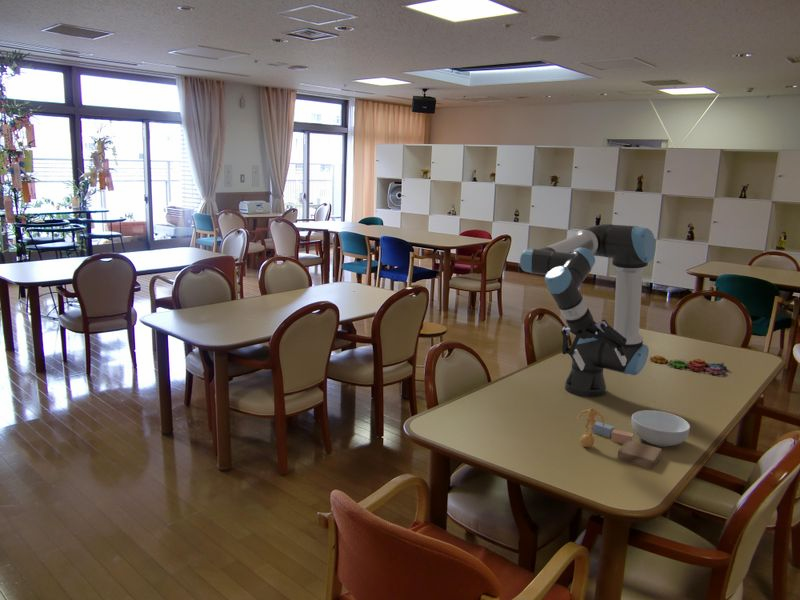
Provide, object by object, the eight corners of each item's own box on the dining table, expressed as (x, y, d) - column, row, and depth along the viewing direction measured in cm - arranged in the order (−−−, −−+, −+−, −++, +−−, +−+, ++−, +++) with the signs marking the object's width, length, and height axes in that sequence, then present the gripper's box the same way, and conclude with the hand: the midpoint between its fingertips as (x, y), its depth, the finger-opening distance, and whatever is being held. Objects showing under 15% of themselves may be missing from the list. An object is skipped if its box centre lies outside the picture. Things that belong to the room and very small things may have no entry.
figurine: (571, 445, 192) (575, 408, 189) (577, 438, 197) (580, 402, 194) (599, 452, 188) (603, 414, 185) (603, 445, 193) (607, 408, 190)
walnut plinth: (617, 460, 184) (618, 451, 183) (626, 449, 192) (627, 439, 191) (652, 470, 178) (654, 460, 178) (660, 458, 186) (661, 448, 186)
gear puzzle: (646, 364, 279) (647, 355, 278) (653, 356, 292) (654, 347, 291) (724, 378, 263) (725, 369, 262) (727, 369, 276) (729, 360, 275)
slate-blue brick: (591, 432, 203) (592, 423, 202) (596, 429, 205) (597, 421, 204) (609, 438, 199) (610, 429, 198) (613, 435, 201) (614, 426, 200)
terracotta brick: (610, 441, 196) (611, 432, 196) (612, 438, 199) (613, 429, 198) (630, 445, 193) (632, 436, 193) (632, 442, 196) (633, 433, 195)
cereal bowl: (619, 439, 197) (622, 418, 196) (643, 426, 209) (645, 406, 207) (673, 458, 185) (676, 436, 184) (695, 442, 197) (698, 421, 196)
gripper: (535, 327, 192) (563, 377, 201) (614, 314, 177) (641, 369, 185) (542, 311, 197) (569, 361, 206) (619, 298, 182) (645, 352, 190)
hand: (603, 365), depth 195 cm, fingers open, 13 cm apart
